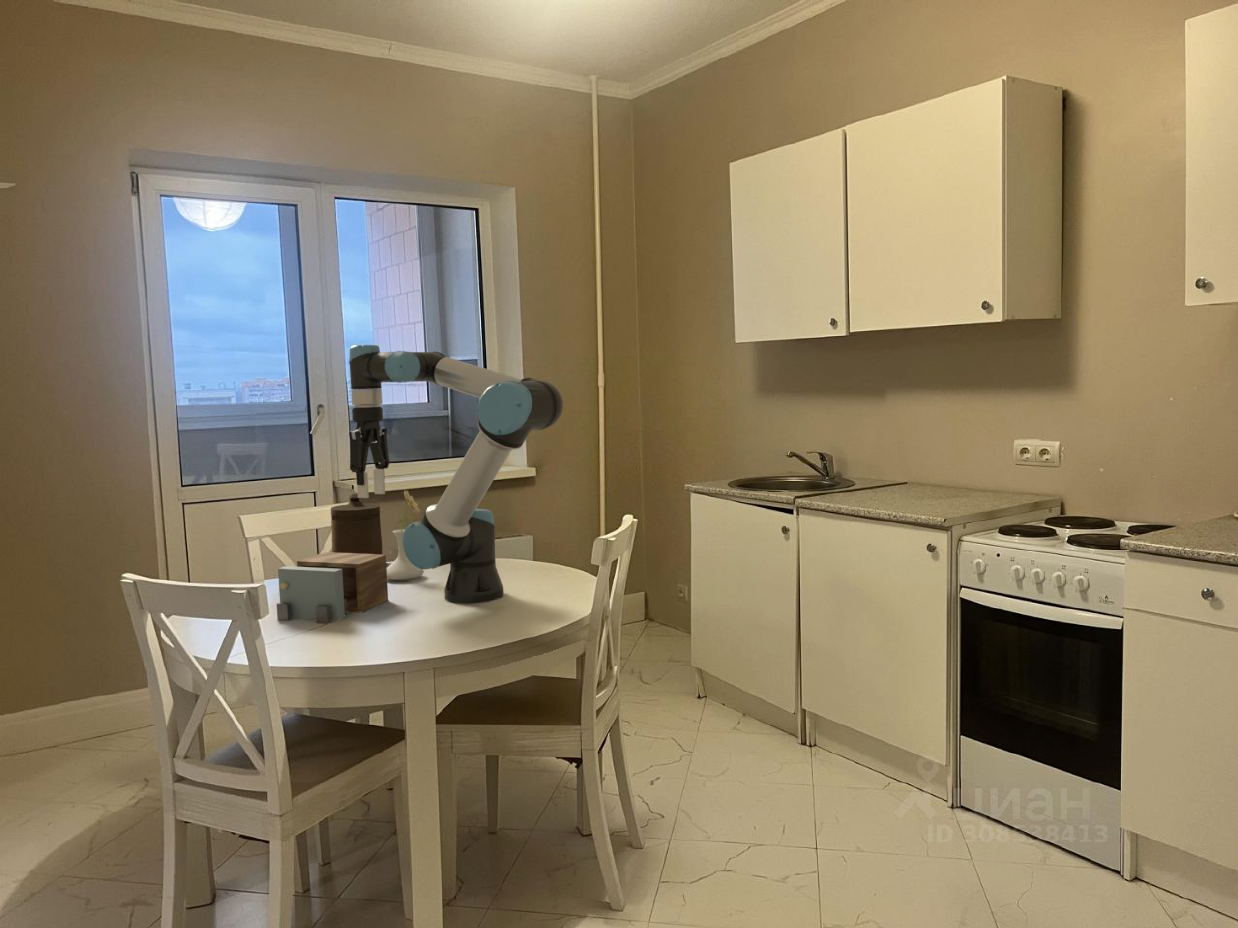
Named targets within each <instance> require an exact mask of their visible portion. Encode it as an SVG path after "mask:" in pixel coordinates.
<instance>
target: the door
mask: <svg viewBox="0 0 1238 928" xmlns="http://www.w3.org/2000/svg"><path fill="white" fill-rule="evenodd" d="M277 574H278V576H277V577H278V588H279V589H278V591H279V602H288V603H291V610H292V619H302V620H314V619H316V606H317V605H330V610H331V620H334V621H333V622H339V621H341V620H343V619H345V617H346V616H345V610H344V592H343V573H342V569H333V568H313V567H297V566H292V565H291V566H290V565H289V566H288V565H287V566H285V565H284V566H282V567H279V568H278V569H277ZM340 619H341V620H340ZM338 620H339V621H338Z"/></svg>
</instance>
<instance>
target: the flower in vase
mask: <svg viewBox="0 0 1238 928" xmlns="http://www.w3.org/2000/svg"><path fill="white" fill-rule="evenodd" d="M403 494H404V498H405V500H406V502H407V505H406V507H405V509H404V511H403V513H402V519H399V520H398V521H397V524H396V526H398V527H401V528H400V529H395V530H392V534H393V535H395V539H396V542H397V546H398V548H397V549H398V552H397V553H398V554H397V557H396V558H395V559H394V560H393V562H392V563H391V564H389V566H388V567H387V580H393V581H406V580H414V579H417V578H419V577H421V576H423V574H424V573H425V571H424V570H425V569H420V568H417V567H416V566H414V565H413V564H412V563H411V562H410V561H409V560H408V558H407V556H406V554H405V552H404V547H403V542H402V539H403V533H404V531H405V529H404V528H403V527H404V525H405V524H406V525H410V519H409V518H408V517H407V516H405V513H406V511H407V509H408V507H409V508H410V509H411V510H412V512H413V513H415V514H416V515H420V512H421V510H420V509H419V507H418V506H419V505H418V503H417V502H415V500H414V497H413V495H410V493H409V490H404V492H403Z"/></svg>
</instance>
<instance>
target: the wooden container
mask: <svg viewBox="0 0 1238 928" xmlns="http://www.w3.org/2000/svg"><path fill="white" fill-rule="evenodd" d="M361 499H362V498H358V493H353V494H351V495H349V500H350V501H349V502H348V503H347V504H339V505H334V506H332V507H330V515H331V516H330V517H331V519H330V520H331V521H330V522H331V523H330V524H331V529H330V530H331V552H335V553H358V554H381V555H384V554H383V538H382V525H381V508H380V507H381V506H380V504H376V503H363V502H362V501H361Z"/></svg>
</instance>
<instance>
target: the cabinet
mask: <svg viewBox="0 0 1238 928" xmlns="http://www.w3.org/2000/svg"><path fill="white" fill-rule="evenodd" d="M296 567H313V568H333V569H342V573H343V592H344V599H347V612H351V613H352V612H353V613H363V612H366V611H368V610H370V609H372V608H375V607H377V606H379V605H382V604H383V603H384V604H385V603H386V602H388V601H389V591H388V590H389V589H388V578H387V555H386V554H383V555H381V554H358V553H335V552H332V551H331V552H329V551H326V552H321V553H318V554H316V555H312V556H309V557H306V558H302V559H299V560H297V561H296Z"/></svg>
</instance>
